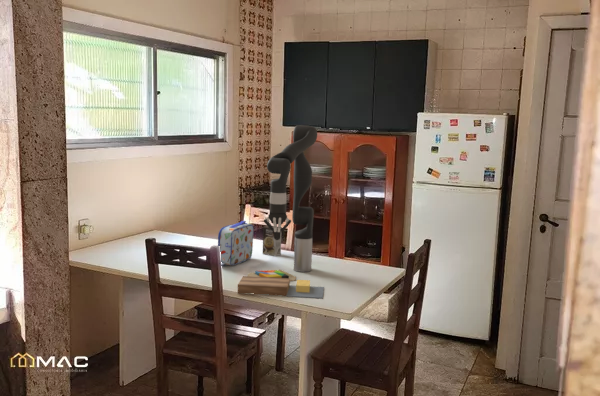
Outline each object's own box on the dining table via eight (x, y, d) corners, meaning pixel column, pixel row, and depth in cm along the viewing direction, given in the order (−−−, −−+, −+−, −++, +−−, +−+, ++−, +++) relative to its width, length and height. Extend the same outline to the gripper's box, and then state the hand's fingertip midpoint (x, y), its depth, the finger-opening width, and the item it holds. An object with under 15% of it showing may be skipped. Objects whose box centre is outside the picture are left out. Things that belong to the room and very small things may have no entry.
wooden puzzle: (297, 281, 270) (297, 274, 269) (263, 286, 260) (263, 279, 259) (279, 272, 284) (279, 266, 284) (246, 277, 274) (246, 270, 274)
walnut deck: (243, 284, 260) (243, 276, 260) (289, 286, 259) (289, 278, 258) (237, 293, 247) (237, 284, 246) (286, 295, 245) (286, 287, 245)
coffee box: (262, 254, 320) (262, 226, 318) (268, 252, 326) (269, 225, 324) (275, 256, 316) (275, 228, 313) (281, 254, 321) (282, 227, 319)
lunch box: (239, 255, 316) (240, 217, 313) (255, 257, 312) (256, 219, 309) (214, 266, 290) (215, 225, 287) (232, 269, 287) (232, 227, 284)
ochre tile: (310, 280, 258) (309, 286, 259) (297, 279, 259) (297, 286, 259) (309, 286, 249) (309, 292, 250) (296, 285, 250) (296, 291, 250)
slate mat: (289, 286, 260) (289, 285, 260) (323, 287, 259) (323, 286, 259) (286, 296, 244) (286, 295, 244) (322, 298, 243) (322, 297, 243)
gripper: (293, 201, 254) (292, 238, 256) (264, 200, 254) (263, 237, 257) (291, 204, 246) (290, 242, 249) (262, 202, 247) (261, 240, 249)
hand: (277, 239), depth 253 cm, fingers closed
